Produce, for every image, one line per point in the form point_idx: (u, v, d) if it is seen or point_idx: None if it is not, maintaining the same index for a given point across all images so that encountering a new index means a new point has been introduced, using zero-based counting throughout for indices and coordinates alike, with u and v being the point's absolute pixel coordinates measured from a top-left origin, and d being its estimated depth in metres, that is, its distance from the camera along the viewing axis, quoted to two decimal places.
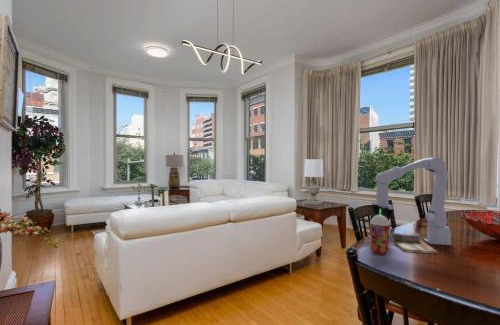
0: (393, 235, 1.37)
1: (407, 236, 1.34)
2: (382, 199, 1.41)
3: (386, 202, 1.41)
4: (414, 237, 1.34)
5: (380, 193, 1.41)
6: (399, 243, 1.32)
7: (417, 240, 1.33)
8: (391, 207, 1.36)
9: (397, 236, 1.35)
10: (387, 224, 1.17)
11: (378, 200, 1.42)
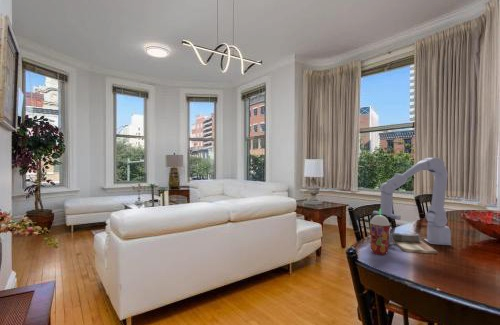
0: (393, 235, 1.37)
1: (407, 236, 1.34)
2: (388, 209, 1.40)
3: (391, 212, 1.41)
4: (414, 237, 1.34)
5: (384, 203, 1.41)
6: (399, 243, 1.32)
7: (417, 240, 1.33)
8: (399, 217, 1.37)
9: (397, 236, 1.35)
10: (387, 224, 1.17)
11: (384, 210, 1.41)
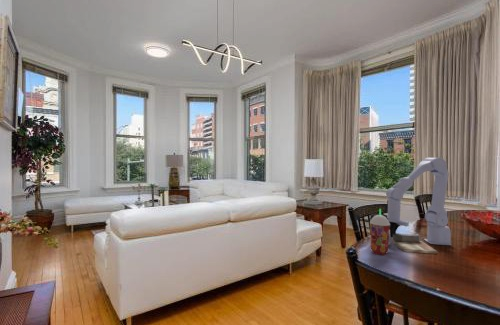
0: (393, 235, 1.36)
1: (407, 236, 1.34)
2: (396, 215, 1.36)
3: (399, 218, 1.37)
4: (414, 237, 1.33)
5: (393, 209, 1.37)
6: (399, 243, 1.32)
7: (417, 240, 1.33)
8: (407, 224, 1.33)
9: (397, 236, 1.34)
10: (387, 224, 1.17)
11: (392, 216, 1.37)
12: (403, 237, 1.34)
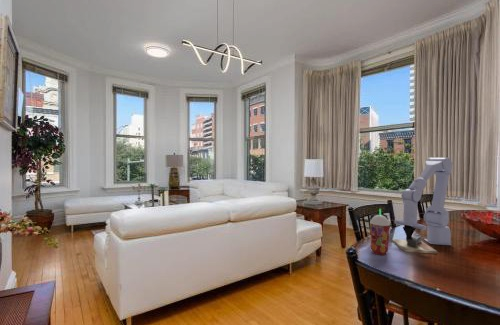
0: (411, 241, 1.27)
1: (418, 239, 1.30)
2: (413, 219, 1.29)
3: (416, 222, 1.30)
4: (420, 238, 1.32)
5: (412, 212, 1.29)
6: (399, 243, 1.32)
7: (420, 240, 1.33)
8: (425, 228, 1.25)
9: (416, 241, 1.26)
10: (387, 224, 1.17)
11: (408, 220, 1.30)
12: None
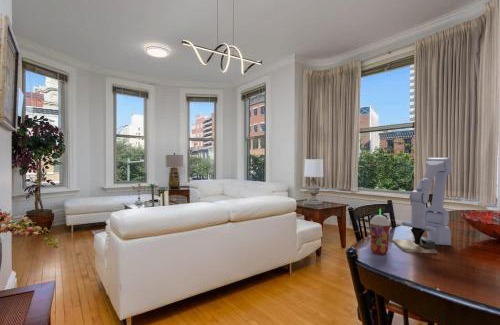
0: (430, 243, 1.24)
1: None
2: (421, 221, 1.26)
3: (424, 224, 1.27)
4: None
5: (422, 214, 1.26)
6: (399, 243, 1.32)
7: None
8: (434, 230, 1.22)
9: None
10: (387, 224, 1.17)
11: (416, 222, 1.27)
12: None
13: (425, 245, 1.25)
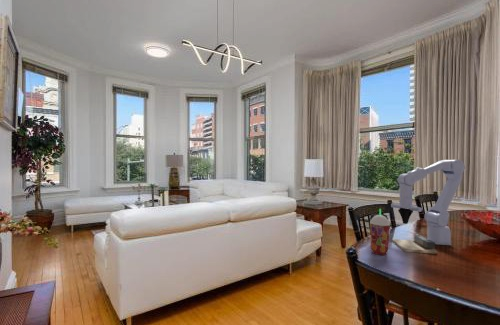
0: (430, 243, 1.24)
1: None
2: (408, 201, 1.35)
3: (411, 204, 1.35)
4: None
5: (405, 195, 1.35)
6: (399, 243, 1.32)
7: None
8: (420, 209, 1.31)
9: None
10: (387, 224, 1.17)
11: (404, 202, 1.35)
12: None
13: (425, 245, 1.25)
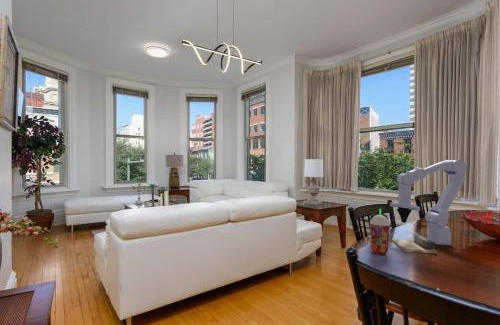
0: (430, 243, 1.24)
1: None
2: (407, 201, 1.36)
3: (410, 203, 1.37)
4: None
5: (403, 194, 1.37)
6: (399, 243, 1.32)
7: None
8: (419, 208, 1.33)
9: None
10: (387, 224, 1.17)
11: (402, 202, 1.37)
12: None
13: (425, 245, 1.25)
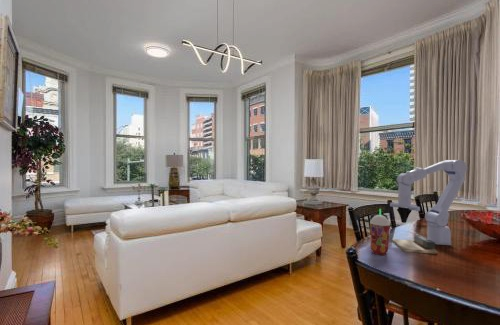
0: (430, 243, 1.24)
1: None
2: (407, 201, 1.36)
3: (410, 203, 1.37)
4: None
5: (403, 194, 1.37)
6: (399, 243, 1.32)
7: None
8: (419, 208, 1.33)
9: None
10: (387, 224, 1.17)
11: (402, 202, 1.37)
12: None
13: (425, 245, 1.25)
